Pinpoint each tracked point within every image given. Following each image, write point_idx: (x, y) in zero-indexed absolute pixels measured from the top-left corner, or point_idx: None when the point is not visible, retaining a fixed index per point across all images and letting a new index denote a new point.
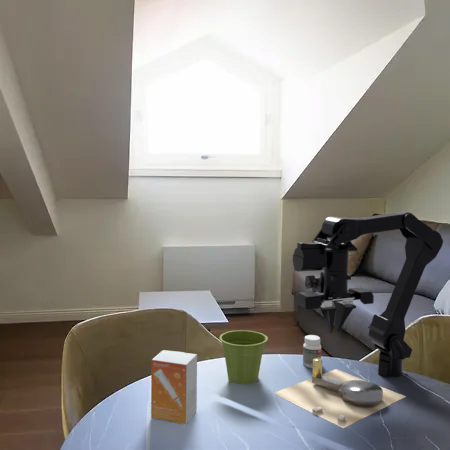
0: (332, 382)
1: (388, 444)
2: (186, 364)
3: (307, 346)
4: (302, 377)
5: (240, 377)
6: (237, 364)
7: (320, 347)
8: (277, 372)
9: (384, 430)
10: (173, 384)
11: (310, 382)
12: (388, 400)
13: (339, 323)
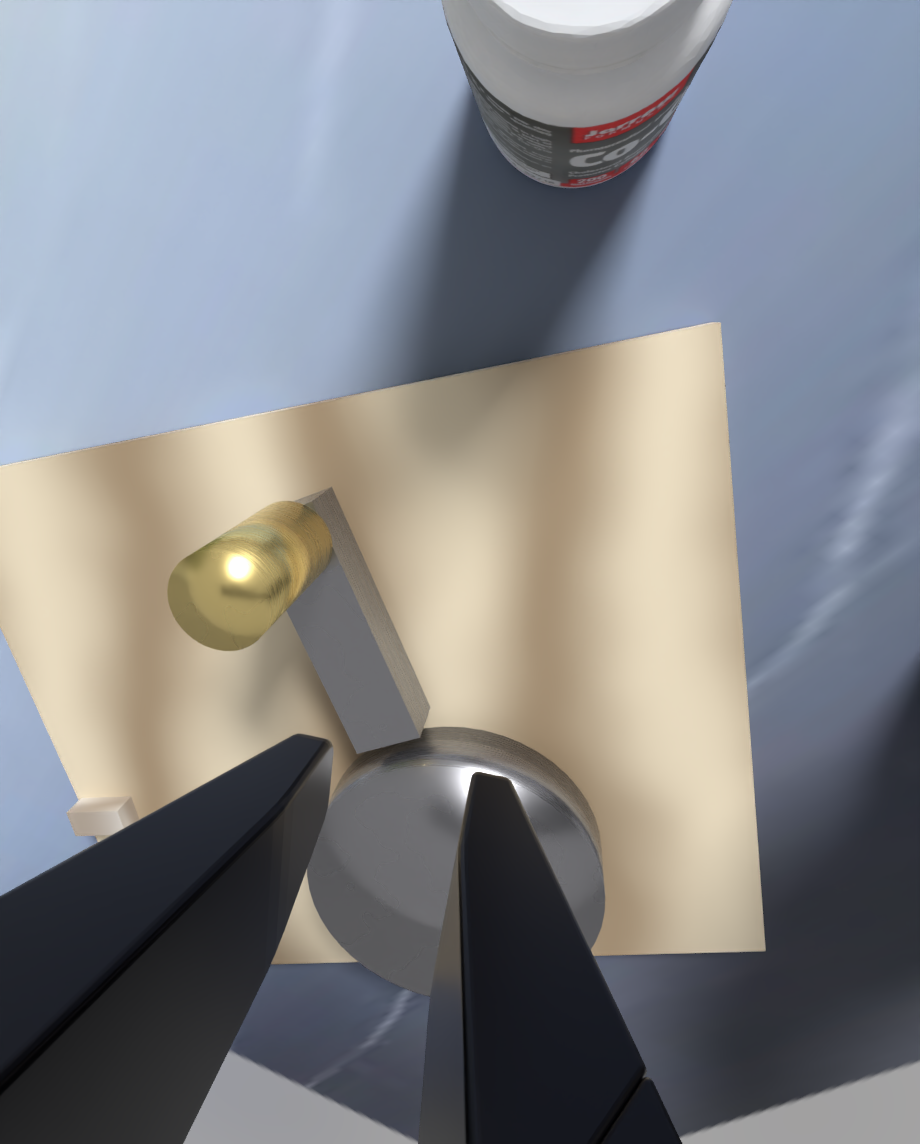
0: (337, 697)
1: (300, 1079)
2: None
3: None
4: (343, 262)
5: None
6: None
7: (647, 99)
8: (173, 19)
9: (367, 1022)
10: None
11: (289, 465)
12: (608, 925)
13: (427, 1104)
